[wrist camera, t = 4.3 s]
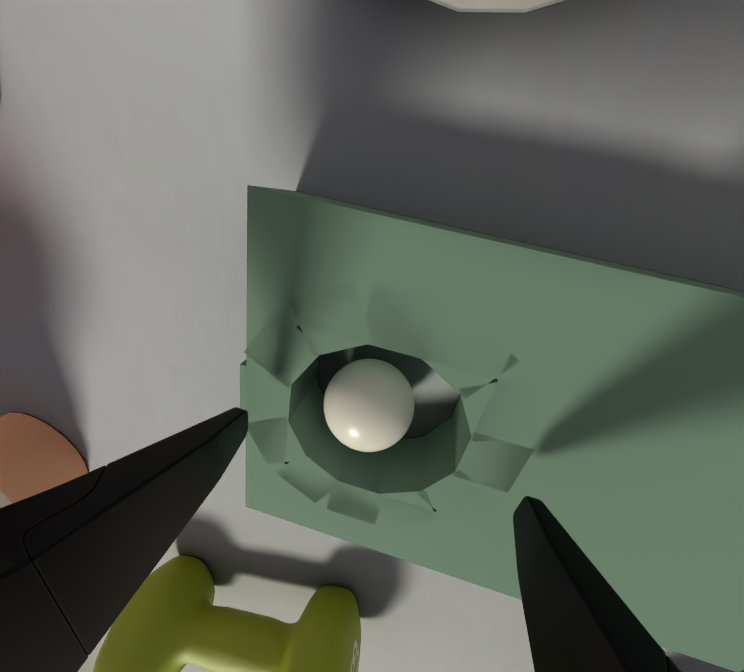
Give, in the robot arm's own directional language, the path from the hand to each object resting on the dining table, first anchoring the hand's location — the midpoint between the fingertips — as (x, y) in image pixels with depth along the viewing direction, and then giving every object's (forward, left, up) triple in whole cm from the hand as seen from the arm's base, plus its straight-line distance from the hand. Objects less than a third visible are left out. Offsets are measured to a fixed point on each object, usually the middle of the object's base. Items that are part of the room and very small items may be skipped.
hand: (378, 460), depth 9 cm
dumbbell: (+5, +22, -5) cm, 23 cm away
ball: (+1, 0, -3) cm, 3 cm away
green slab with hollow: (-6, 0, -4) cm, 7 cm away
